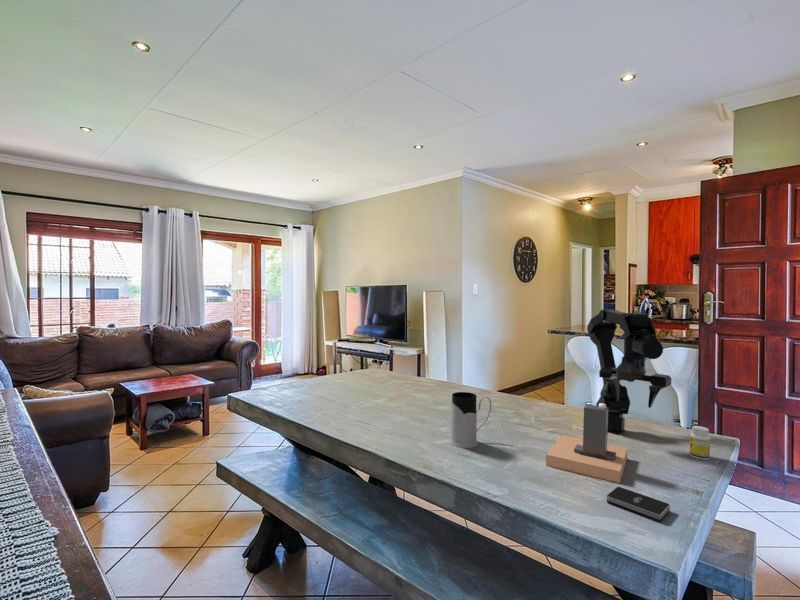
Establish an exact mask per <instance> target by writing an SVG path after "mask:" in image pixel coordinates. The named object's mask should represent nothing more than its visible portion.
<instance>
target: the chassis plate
mask: <svg viewBox="0 0 800 600" xmlns="http://www.w3.org/2000/svg"><path fill="white" fill-rule="evenodd" d="M576 445H582V446H583V438H577V437H572V436H567V435H563V434H562V435H560V437H558V439H557V440H556V441H555V442H554V444H553V445H552V447H551V448H550V449H549V451H548V452H547V453H546V455H545V466H546V467H547V466H548V467H551V468H555V469H556V468H557V469H559V470H563V471H568V472H571V473H572V472H573V473H576V474H580V475H585V476H589V477H593V478H595V479H596V478H597V479H600V480H606V481H609V482H613V483H616V484H617V483H618V484H620V483H621V480H622V477H623V474H624V471H625V467H626V464H627V461H628V448H627V447H623V446H617V445H612V444H608V443H607V451H611V452H616V457H615V460H610V459H607V460H602V459H598V458H593V457H588V456H584V455H583V454H582V453H577V452H574V448H575V447H576Z"/></svg>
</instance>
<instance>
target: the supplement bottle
mask: <svg viewBox="0 0 800 600" xmlns="http://www.w3.org/2000/svg"><path fill="white" fill-rule="evenodd" d="M689 435H690V436H689V455H690V456H691V457H692V458H695V459H697V460H701V461H702V460H703V461H705V460H706V461H708V460H710V458H711V457H710V456H711V437H710V436H709V435H710V430H709V428H707V427H704V426H700V425H694V426H692V427H691V433H690V434H689Z"/></svg>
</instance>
